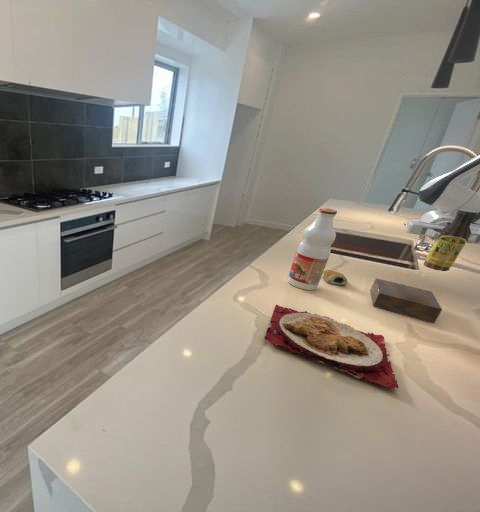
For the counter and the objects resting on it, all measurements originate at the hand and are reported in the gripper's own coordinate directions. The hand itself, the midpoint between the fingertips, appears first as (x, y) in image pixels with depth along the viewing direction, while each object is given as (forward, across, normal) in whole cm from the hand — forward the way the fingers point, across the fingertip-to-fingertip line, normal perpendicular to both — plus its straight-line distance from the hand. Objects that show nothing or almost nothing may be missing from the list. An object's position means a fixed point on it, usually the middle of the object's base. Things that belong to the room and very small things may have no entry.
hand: (453, 238), depth 95 cm
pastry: (+6, -25, +22) cm, 34 cm away
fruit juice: (+18, -34, +22) cm, 44 cm away
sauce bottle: (-1, 0, +11) cm, 11 cm away
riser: (+13, -7, +22) cm, 27 cm away
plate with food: (+53, -26, +22) cm, 63 cm away
